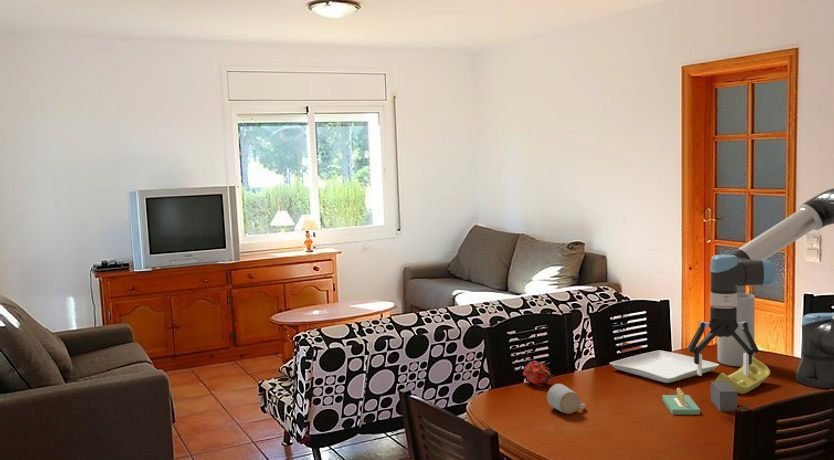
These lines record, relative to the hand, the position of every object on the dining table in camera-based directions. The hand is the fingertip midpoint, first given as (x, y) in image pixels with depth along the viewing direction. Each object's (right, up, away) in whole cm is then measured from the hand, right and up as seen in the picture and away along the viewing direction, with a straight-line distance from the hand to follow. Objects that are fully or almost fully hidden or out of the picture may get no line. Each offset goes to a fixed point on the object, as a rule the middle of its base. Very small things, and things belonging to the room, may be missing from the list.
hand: (722, 374), depth 233 cm
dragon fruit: (-51, -9, +31) cm, 61 cm away
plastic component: (+15, -8, +20) cm, 26 cm away
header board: (-12, -10, +1) cm, 16 cm away
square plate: (-5, -7, +40) cm, 41 cm away
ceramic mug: (-47, -12, +3) cm, 48 cm away
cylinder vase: (+24, -5, +47) cm, 53 cm away
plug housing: (+1, -9, +3) cm, 10 cm away
